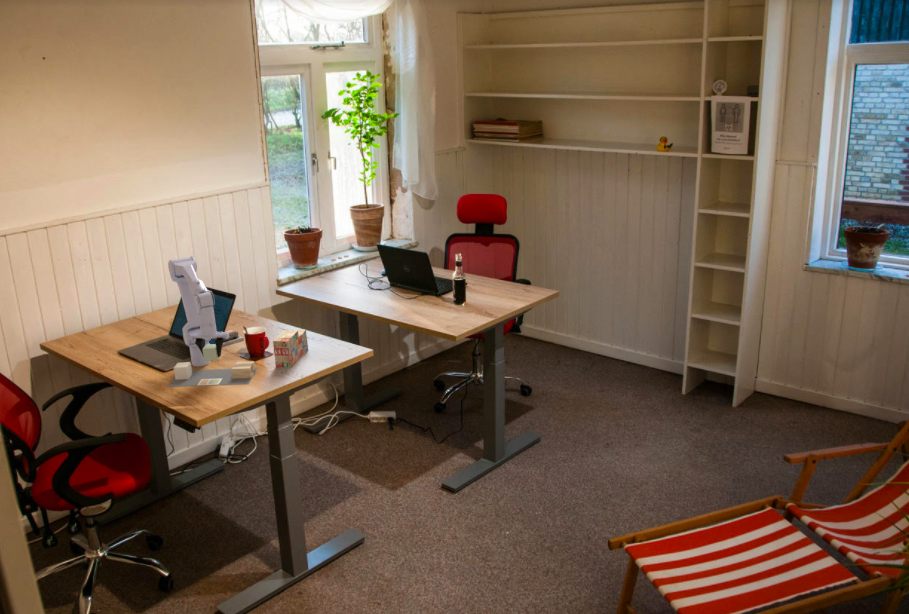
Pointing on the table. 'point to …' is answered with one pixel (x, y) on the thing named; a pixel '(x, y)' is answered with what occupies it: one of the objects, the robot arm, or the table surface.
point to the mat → (211, 374)
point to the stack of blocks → (289, 347)
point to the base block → (243, 369)
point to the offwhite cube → (183, 370)
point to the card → (209, 382)
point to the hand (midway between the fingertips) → (212, 356)
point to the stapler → (232, 338)
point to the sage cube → (210, 352)
